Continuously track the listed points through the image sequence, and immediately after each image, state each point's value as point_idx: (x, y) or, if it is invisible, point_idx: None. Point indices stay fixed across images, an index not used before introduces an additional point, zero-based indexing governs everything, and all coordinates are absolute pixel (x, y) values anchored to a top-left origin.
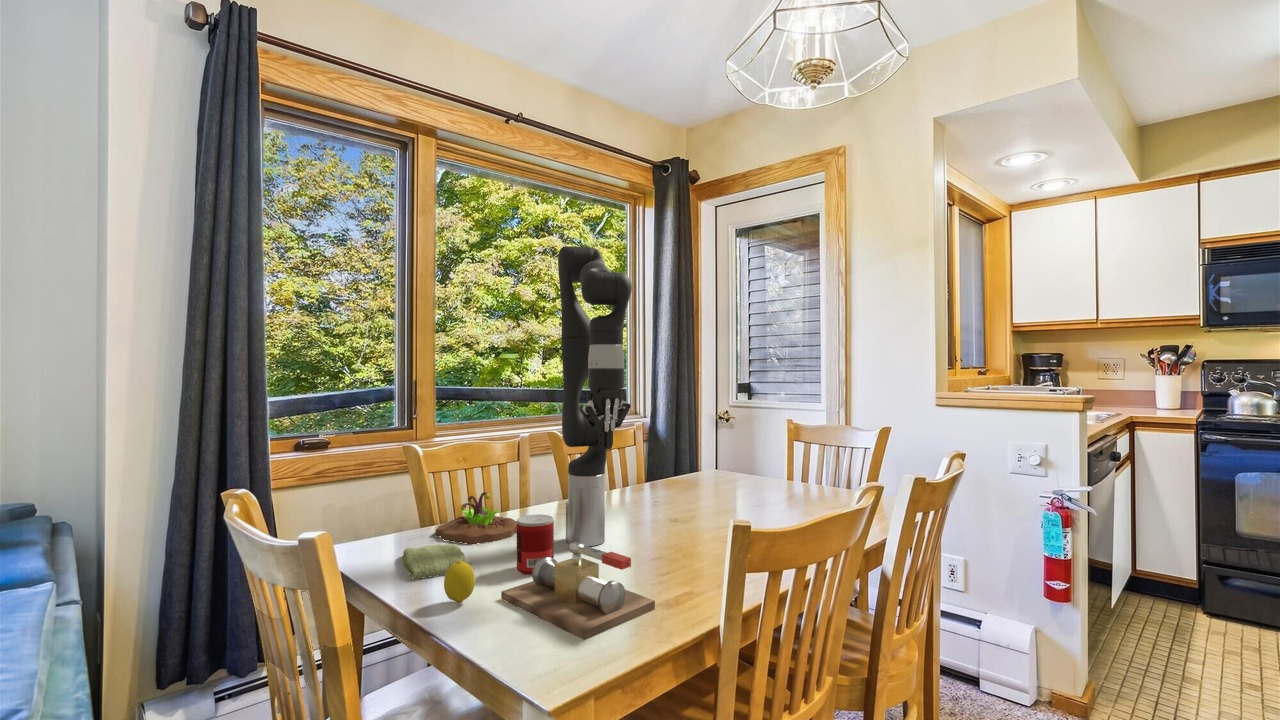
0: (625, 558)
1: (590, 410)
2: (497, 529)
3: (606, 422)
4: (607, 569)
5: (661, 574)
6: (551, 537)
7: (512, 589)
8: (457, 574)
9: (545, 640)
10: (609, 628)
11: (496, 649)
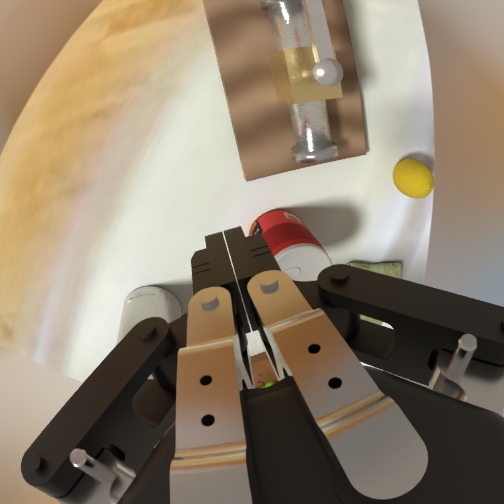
0: None
1: (497, 320)
2: (261, 369)
3: (288, 314)
4: (176, 177)
5: (107, 114)
6: (272, 238)
7: (353, 151)
8: (429, 169)
9: (367, 19)
10: None
11: (410, 41)
